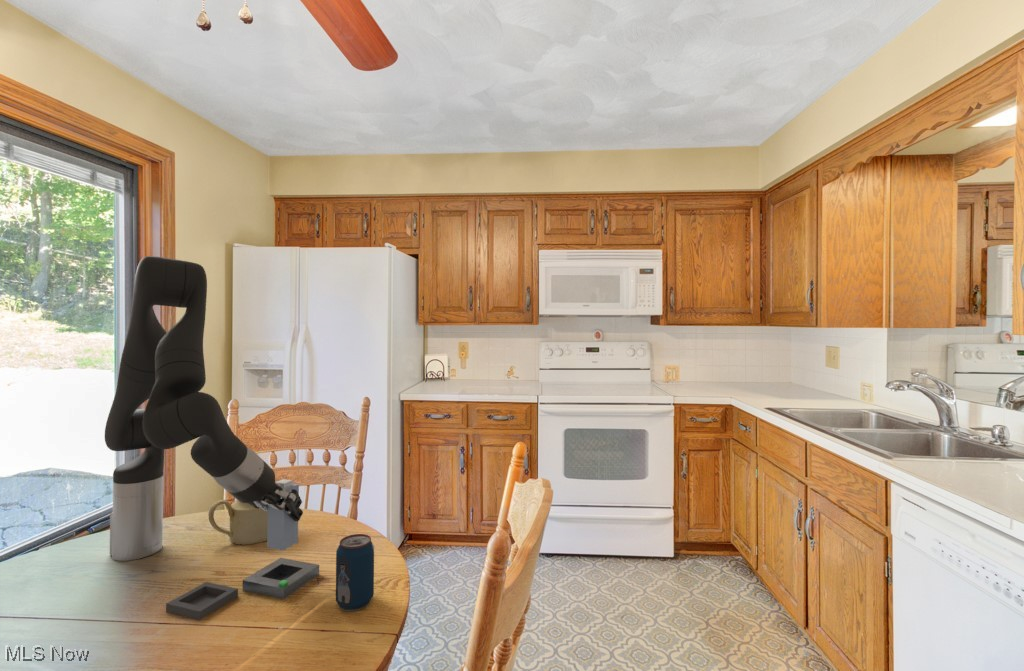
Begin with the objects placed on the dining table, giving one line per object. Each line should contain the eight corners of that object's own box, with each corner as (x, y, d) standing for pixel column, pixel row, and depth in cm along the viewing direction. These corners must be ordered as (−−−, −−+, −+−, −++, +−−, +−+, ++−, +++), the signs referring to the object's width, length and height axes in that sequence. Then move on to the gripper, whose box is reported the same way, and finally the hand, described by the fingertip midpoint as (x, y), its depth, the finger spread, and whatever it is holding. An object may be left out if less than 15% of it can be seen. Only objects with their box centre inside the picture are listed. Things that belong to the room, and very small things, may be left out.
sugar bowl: (243, 554, 110) (244, 490, 110) (204, 548, 112) (205, 485, 112) (288, 529, 124) (289, 472, 124) (253, 524, 127) (254, 468, 127)
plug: (267, 547, 96) (268, 483, 96) (282, 539, 99) (283, 477, 99) (283, 550, 94) (284, 485, 94) (297, 542, 98) (298, 479, 98)
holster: (165, 614, 86) (166, 603, 86) (205, 591, 94) (206, 581, 94) (199, 622, 84) (199, 611, 84) (237, 599, 91) (237, 588, 91)
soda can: (374, 591, 95) (375, 531, 95) (372, 611, 88) (372, 546, 88) (338, 594, 94) (339, 534, 94) (332, 615, 87) (333, 549, 87)
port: (242, 592, 94) (242, 577, 94) (280, 569, 103) (280, 554, 103) (283, 601, 91) (283, 585, 91) (319, 576, 100) (319, 561, 100)
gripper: (285, 458, 88) (327, 502, 99) (225, 452, 92) (272, 495, 103) (262, 495, 83) (309, 537, 94) (199, 487, 87) (252, 528, 98)
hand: (290, 515), depth 99 cm, fingers closed on plug, 4 cm apart
